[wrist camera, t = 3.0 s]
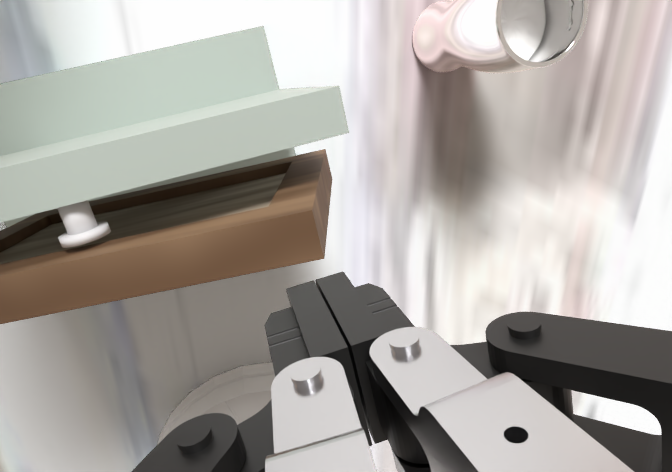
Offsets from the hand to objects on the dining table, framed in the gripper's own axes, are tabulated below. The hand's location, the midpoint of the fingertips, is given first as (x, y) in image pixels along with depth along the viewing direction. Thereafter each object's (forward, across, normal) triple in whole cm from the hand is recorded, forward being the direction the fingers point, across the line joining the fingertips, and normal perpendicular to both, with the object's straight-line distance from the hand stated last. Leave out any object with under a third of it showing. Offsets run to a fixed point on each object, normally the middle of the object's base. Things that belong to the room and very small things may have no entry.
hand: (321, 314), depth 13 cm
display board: (+34, +8, -4) cm, 35 cm away
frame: (+23, +5, 0) cm, 23 cm away
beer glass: (+34, -20, -6) cm, 40 cm away
